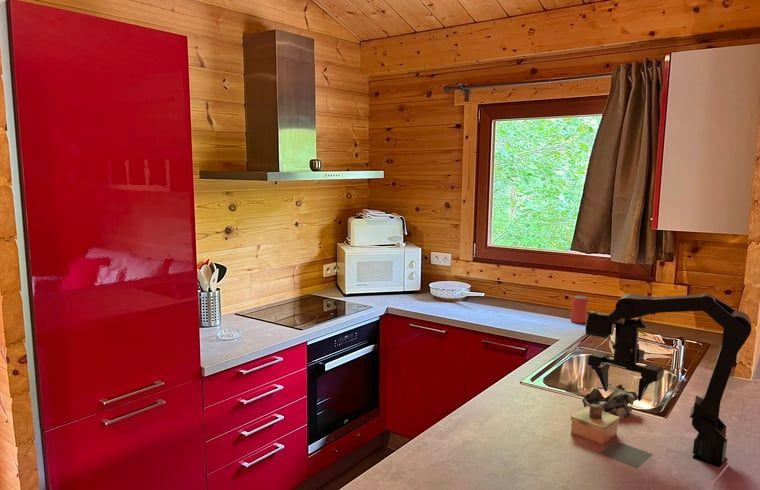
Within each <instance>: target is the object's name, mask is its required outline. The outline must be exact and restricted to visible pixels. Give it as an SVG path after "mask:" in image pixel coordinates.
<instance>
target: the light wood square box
mask: <svg viewBox="0 0 760 490" xmlns="http://www.w3.org/2000/svg"><path fill="white" fill-rule="evenodd" d="M618 423H619V422H618ZM618 423H616V424H615V425H614V426H612V427H611V428H609V429H608V430H607V431H605V432H602V431H599V430H596V429H594V428H591V427H588V426H585V425H583V424H580V423H577V422H574V421H572V420H571V427H570V428H571V430H570V435H572V436H575V437H577V438H581V439H584V440H586V441H588V442H591V443H593V444H595V445H599V446H601V447H602V446H604V445H605V444H607V443H608V442H610V440H612V439H613V438H615V437H616V436H617V435H618V434H617V433H618Z"/></svg>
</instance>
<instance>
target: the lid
mask: <svg viewBox="0 0 760 490" xmlns="http://www.w3.org/2000/svg"><path fill="white" fill-rule="evenodd" d="M620 419H621V417H620V416H615V415H612V414H609V413H606V412H603V411H602V406H601V405H600V404H599V405H598V404H591V405H590V407H588V406H586V407H584V406H583V407H582V408H581V409H579V410H578V411H577V412H575V413H574V414H572V415H570V421H571V422H572V421H574V422H577V423H580V424H583V425H585V426H588V427H591V428H594V429H596V430H599V431H602V432H605V431H607V430H608V429H609V428H611V427H612V426H614V425H615V424H616V423H619V422H620Z"/></svg>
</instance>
